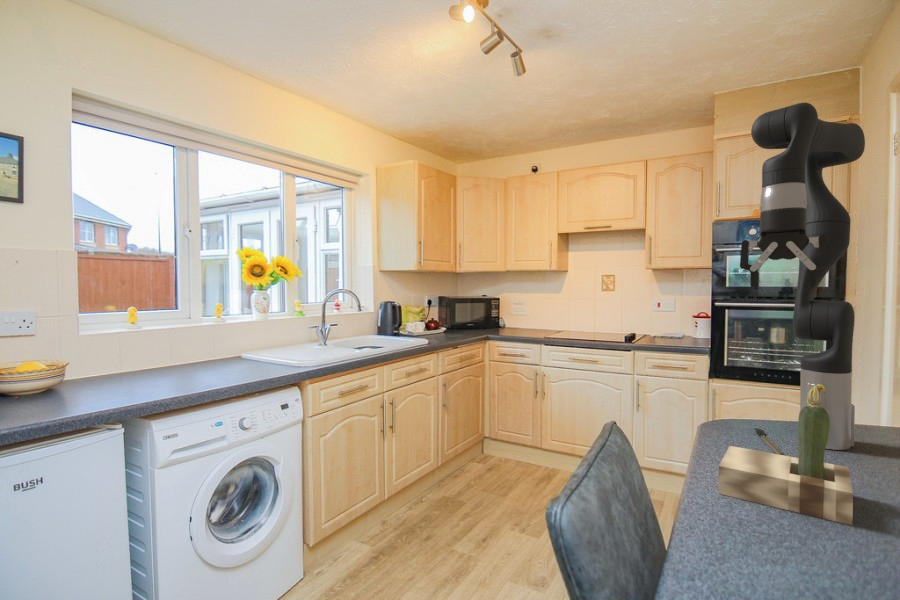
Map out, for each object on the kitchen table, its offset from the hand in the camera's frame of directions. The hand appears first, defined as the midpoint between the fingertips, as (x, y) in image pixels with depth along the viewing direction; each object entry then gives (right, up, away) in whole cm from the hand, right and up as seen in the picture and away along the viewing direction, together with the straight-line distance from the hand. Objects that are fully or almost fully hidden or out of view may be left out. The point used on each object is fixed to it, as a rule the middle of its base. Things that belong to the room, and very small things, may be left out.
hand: (781, 289), depth 93 cm
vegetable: (-4, -37, -14) cm, 39 cm away
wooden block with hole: (-8, -37, -11) cm, 39 cm away
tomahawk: (+8, -36, +14) cm, 40 cm away
